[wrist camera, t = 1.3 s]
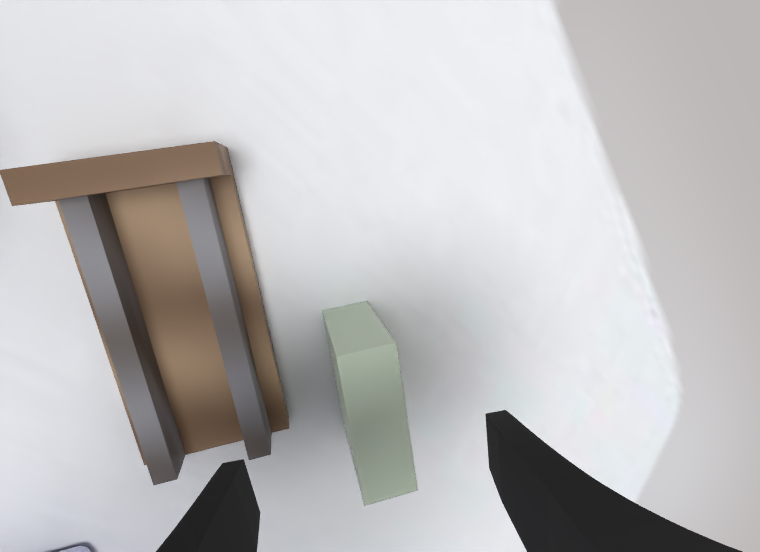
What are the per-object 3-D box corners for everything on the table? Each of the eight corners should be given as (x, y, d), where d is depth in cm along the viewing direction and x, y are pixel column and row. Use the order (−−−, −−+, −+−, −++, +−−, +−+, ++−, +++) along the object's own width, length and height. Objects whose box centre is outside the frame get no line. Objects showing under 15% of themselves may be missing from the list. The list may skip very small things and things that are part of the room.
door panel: (385, 416, 25) (417, 490, 19) (344, 427, 24) (364, 505, 18) (367, 300, 23) (396, 342, 17) (322, 310, 22) (336, 356, 17)
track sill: (288, 417, 23) (290, 465, 19) (150, 452, 22) (123, 510, 18) (227, 147, 20) (214, 141, 16) (57, 171, 18) (-1, 170, 15)
